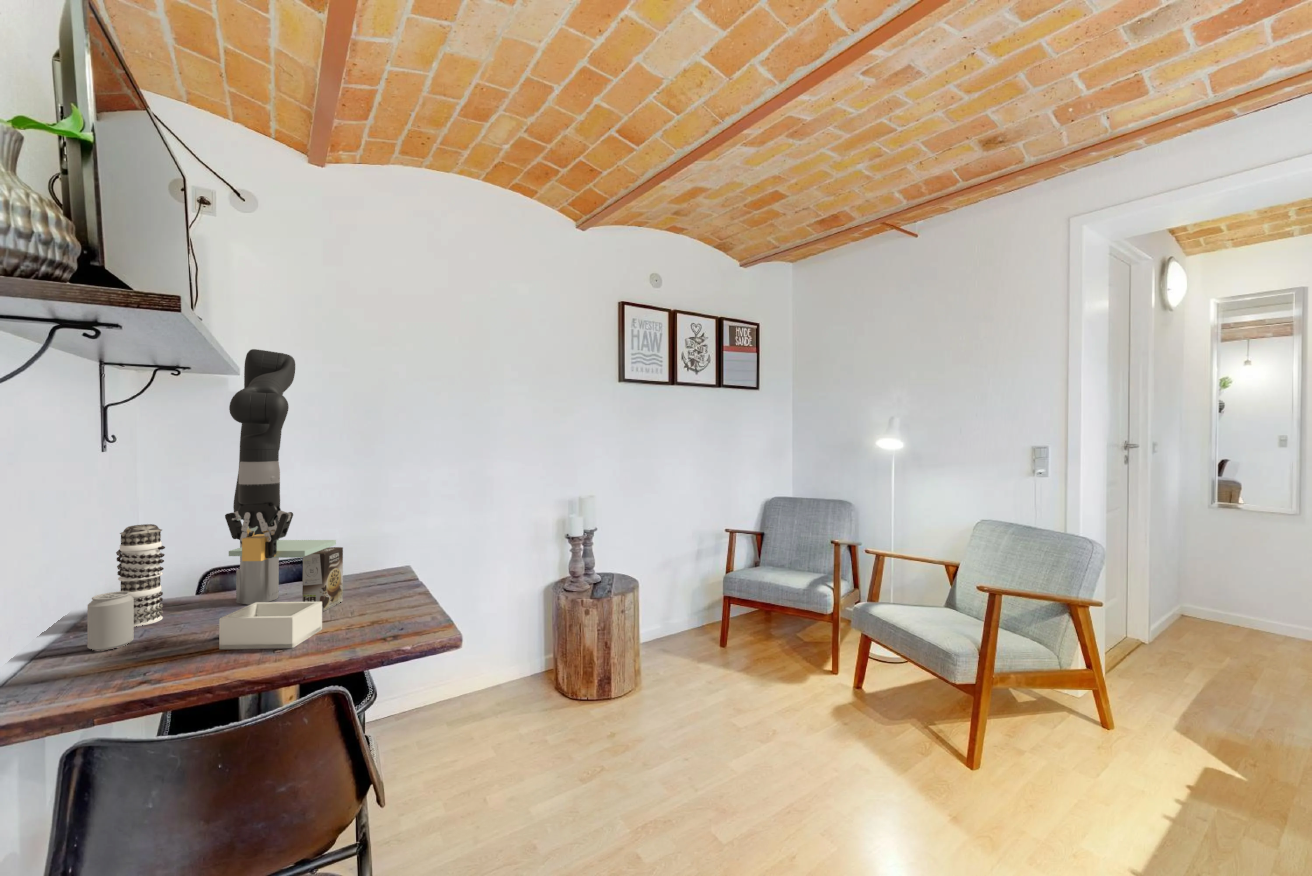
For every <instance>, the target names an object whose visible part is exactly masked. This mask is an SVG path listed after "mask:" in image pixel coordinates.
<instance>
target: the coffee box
mask: <svg viewBox="0 0 1312 876" xmlns="http://www.w3.org/2000/svg"><path fill="white" fill-rule="evenodd" d="M343 561H344V547H341V546H337V547H336V546H331V547H328V548H325V549H323V550H321V551H318V552H315V553H312V554H310V555H307V556H304V557H302V597H301V598H302V599H301V600H302V601H301V602H322V612H325V611H327V610H330V609H332V608H333V607H335V606H337V605H339V604H341V603H343V602H342V601H343V598H344V592H343V591H344V589H343V588H344V587H343V585H344V584H343V583H344V581H343V580H344V576H343V574H344V570H343V569H344V562H343ZM340 602H341V603H340ZM336 604H337V605H336Z"/></svg>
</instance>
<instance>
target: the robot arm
mask: <svg viewBox="0 0 1312 876" xmlns="http://www.w3.org/2000/svg"><path fill="white" fill-rule="evenodd" d="M243 367H244V370H243V371H244V372H243V374H244V376H243V381H244V382H243V383H244V384H243V387H244V388H243V389H240V390H239V391H237V392H236V393H235V394H233V396H232V398H231V400H230V402H229V408H228V410H229V413H230V416H231V418H232V419H233V420H234V421H235V422H238V423H240V424H241V427H240V436H239V437H240V438H239V458H238V460H239V463H238V473H237V478H236V485H235V490H234V498H233V506H232V507H233V512H228V513H225V515H224V518H225V521H226V523H227V526H228V527H227V528H228V530H229V532H230V536H231V538H232V539H233V540H239V548H241V547H242V538H246V537H250V536H254V535H257V534H264V536H265V539H266V541H267V542H265V558H269V559H266V560H263V561H242V556H239V568H238V569H237V570H236V573H235V576H236V579H235V583H236V585H235V586H236V587H235V588H236V590H235V592H236V594H235V598H236V599H235V600H236V601H235V602H236V604H241V605H251V604H253V603H255V602H273V601H275V600H277V599H278V598H279V591H280V590H279V586H280V582H279V578H280V576H279V575H280V574H279V572H280V569H279V567H280V565H279V563H280V561H279V559H280V558H272V557H274V556H275V555H276V553H277V540H281V539H282V538H285V537H286V536H287V535H288V531H289V528H290V525H291V522H292V520H293V517H294V512H291V511H289V512H287V511H283V510H282V509H281V469H280V462H279V461H280V460H279V459H280V458H279V456H280V455H279V454H280V448H281V441H282V430H283V426H284V423H285V422H286V419H287V415H288V414H289V413H288V412H289V409H290V408H289V403H288V400H287V398H286V397H285V396H284V393H285V392H286V391H287V390H288V389H289V387H291V385H292V383H293V382H294V379H295V374H296V373H295V372H296V360H295V358H294V357H293V356H292V355H290V354H287V353H283V352H276V351H270V350H264V349H255V348H252V349H250V350H249V351H248V352H247V353H246V355H245V359H244V366H243ZM242 521H243V523H242Z"/></svg>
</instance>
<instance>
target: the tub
mask: <svg viewBox="0 0 1312 876" xmlns="http://www.w3.org/2000/svg"><path fill="white" fill-rule="evenodd" d="M218 623H219V627H218V628H219V629H218V630H219V632H218V635H219V639H218V640H219V645H218V646H219V650H255V649H256V650H257V649H258V650H259V649H260V650H261V649H262V650H263V649H264V650H265V649H266V650H267V649H294V648H295V647H297V646H298V645H300V644H302V643H303V642H304V641H306V640H308V639H309V638H311V637H312V636H313V635H316V634H317V633H319V632H321V630H323V611H322V602H302V601H269V602H255V603H253V604H248V605H246V606H245V607H242V608H240V609H238V610H235V611H234V612H231V613H229V614H226V615H224V616H222V617H220V618H219V622H218Z"/></svg>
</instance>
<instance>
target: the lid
mask: <svg viewBox="0 0 1312 876" xmlns="http://www.w3.org/2000/svg"><path fill="white" fill-rule="evenodd" d="M265 542H267V541H266V539H265V536H264V534H257V535H254V536H250V537H246V538H242V547H241V548H240V547H238V548H235V549H230V550H228V557H240V556H242V561H263V560H266V559H269V558H265ZM336 545H337V539H279V540H277V553H276V555H275V556H274V557H272V558H279V559H281V558H282V559H283V558H287V559H288V558H289V559H290V558H291V559H295V558H298V559H299V558H303V557H304V556H307V555H310V554H312V553H315V552H318V551H321V550H323V549H325V548H329V547H335V546H336Z"/></svg>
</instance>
